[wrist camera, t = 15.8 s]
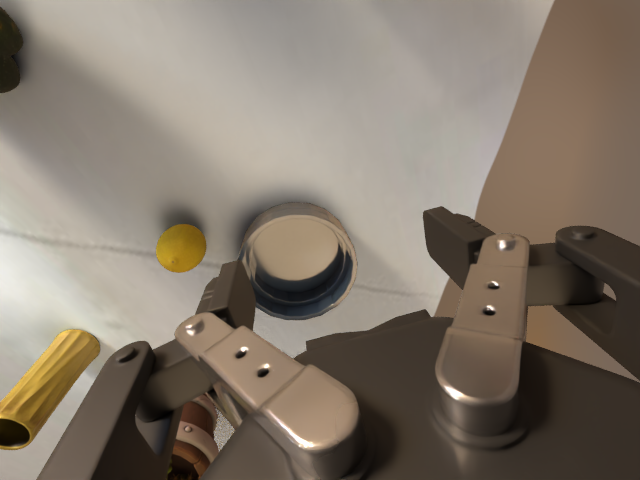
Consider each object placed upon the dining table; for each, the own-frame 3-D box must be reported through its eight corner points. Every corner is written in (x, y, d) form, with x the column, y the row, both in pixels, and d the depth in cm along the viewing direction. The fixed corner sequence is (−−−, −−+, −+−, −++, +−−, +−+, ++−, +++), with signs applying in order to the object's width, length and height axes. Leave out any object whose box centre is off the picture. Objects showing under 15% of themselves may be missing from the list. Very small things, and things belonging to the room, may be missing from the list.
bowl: (226, 217, 44) (219, 233, 39) (336, 188, 44) (343, 200, 39) (261, 308, 50) (258, 332, 45) (357, 283, 50) (366, 303, 45)
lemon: (217, 247, 46) (206, 275, 38) (179, 258, 46) (160, 289, 38) (201, 210, 43) (185, 233, 36) (161, 222, 43) (137, 247, 36)
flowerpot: (119, 418, 56) (40, 575, 37) (167, 359, 52) (107, 500, 34) (196, 448, 60) (160, 600, 42) (245, 396, 57) (228, 537, 38)
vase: (90, 325, 48) (20, 409, 35) (107, 357, 51) (47, 447, 38) (47, 332, 48) (-40, 420, 35) (66, 364, 50) (-9, 458, 37)
